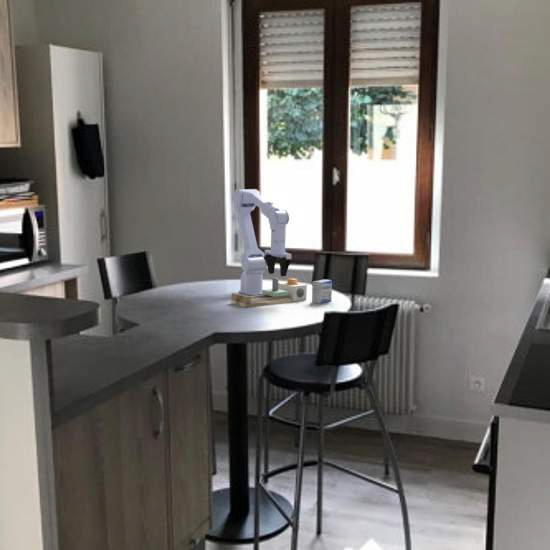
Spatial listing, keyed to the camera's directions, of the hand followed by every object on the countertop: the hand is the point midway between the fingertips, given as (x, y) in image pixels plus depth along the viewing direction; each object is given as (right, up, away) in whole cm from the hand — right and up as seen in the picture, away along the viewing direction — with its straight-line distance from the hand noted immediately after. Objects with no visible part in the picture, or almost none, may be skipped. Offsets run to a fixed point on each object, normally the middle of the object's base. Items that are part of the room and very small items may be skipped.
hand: (277, 274), depth 298 cm
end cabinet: (+6, -10, +7) cm, 13 cm away
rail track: (-6, -11, -3) cm, 13 cm away
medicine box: (+18, -11, +1) cm, 21 cm away
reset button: (+6, -7, +6) cm, 11 cm away
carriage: (-1, -8, +1) cm, 8 cm away
